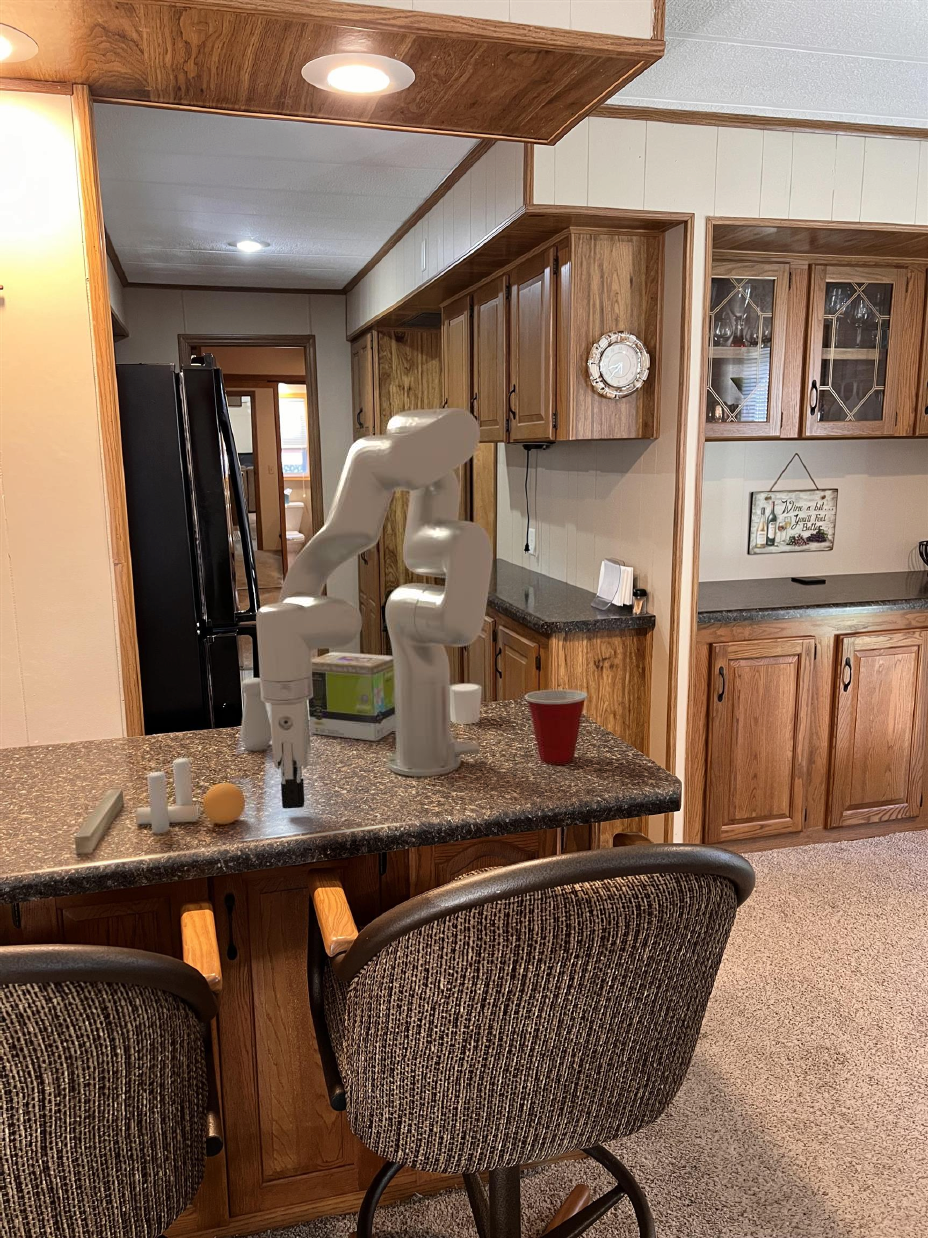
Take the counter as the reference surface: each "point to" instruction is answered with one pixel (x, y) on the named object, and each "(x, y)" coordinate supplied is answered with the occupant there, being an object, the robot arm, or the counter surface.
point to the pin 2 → (182, 782)
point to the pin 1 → (158, 802)
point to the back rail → (99, 821)
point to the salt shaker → (254, 717)
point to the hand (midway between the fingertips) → (293, 805)
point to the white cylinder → (465, 703)
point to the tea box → (352, 696)
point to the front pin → (170, 814)
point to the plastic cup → (556, 722)
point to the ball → (223, 803)
